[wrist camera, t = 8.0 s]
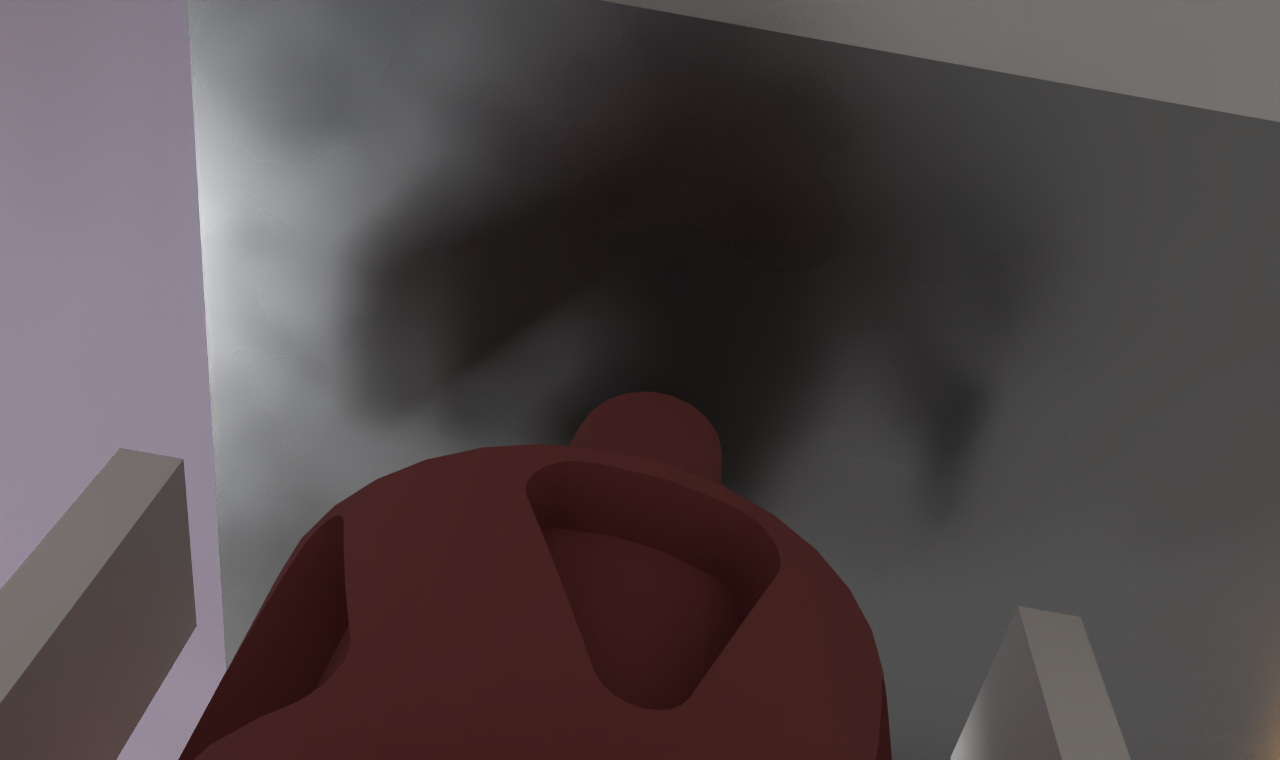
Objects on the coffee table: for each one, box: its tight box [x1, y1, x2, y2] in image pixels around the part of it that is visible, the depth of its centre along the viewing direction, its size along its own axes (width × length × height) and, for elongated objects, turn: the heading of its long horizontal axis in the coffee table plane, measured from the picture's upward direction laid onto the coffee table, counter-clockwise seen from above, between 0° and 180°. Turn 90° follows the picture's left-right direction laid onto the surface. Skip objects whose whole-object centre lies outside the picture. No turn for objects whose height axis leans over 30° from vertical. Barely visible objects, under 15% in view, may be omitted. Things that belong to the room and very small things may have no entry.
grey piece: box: [187, 0, 1280, 760], centre depth 15 cm, size 22×19×5 cm
